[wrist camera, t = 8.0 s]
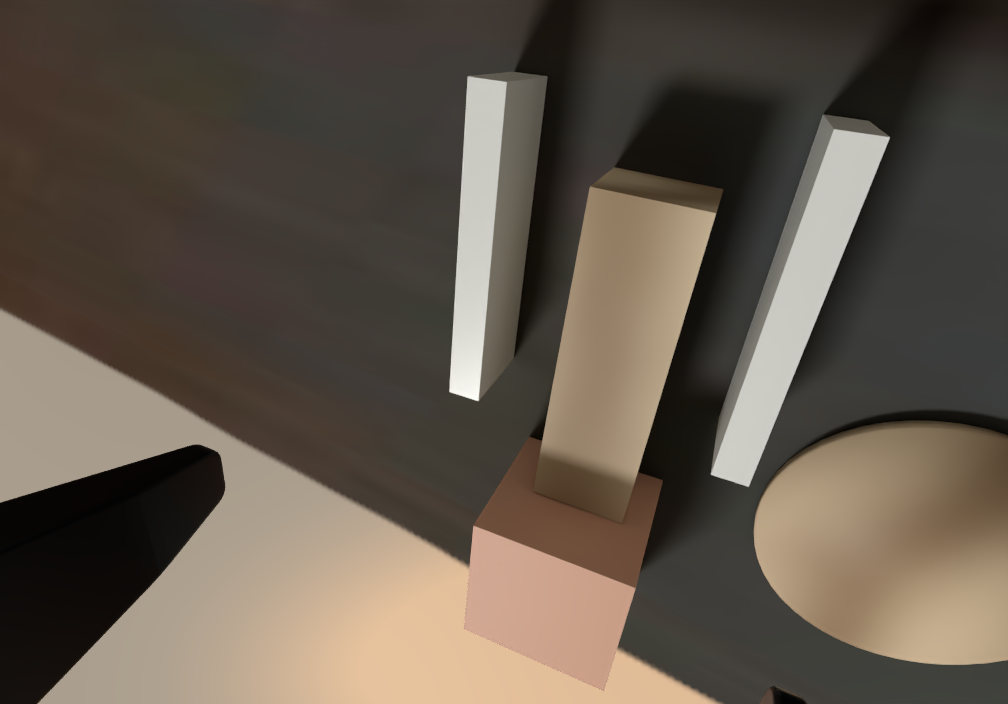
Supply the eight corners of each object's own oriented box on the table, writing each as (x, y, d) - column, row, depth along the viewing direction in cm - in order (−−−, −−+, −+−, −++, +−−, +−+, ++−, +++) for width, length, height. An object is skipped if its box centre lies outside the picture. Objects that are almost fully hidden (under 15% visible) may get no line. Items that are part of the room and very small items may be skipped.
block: (663, 479, 20) (635, 588, 16) (634, 575, 23) (603, 691, 19) (529, 435, 22) (473, 525, 18) (516, 530, 24) (463, 628, 20)
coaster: (1200, 484, 14) (1210, 494, 14) (1008, 693, 19) (1013, 705, 18) (808, 382, 17) (809, 388, 17) (721, 587, 21) (720, 596, 21)
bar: (724, 187, 16) (716, 213, 13) (639, 467, 21) (622, 524, 18) (616, 165, 17) (589, 186, 14) (559, 440, 22) (532, 491, 19)
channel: (868, 120, 14) (890, 137, 11) (751, 427, 18) (748, 486, 16) (513, 71, 16) (468, 76, 14) (487, 350, 21) (449, 391, 18)
